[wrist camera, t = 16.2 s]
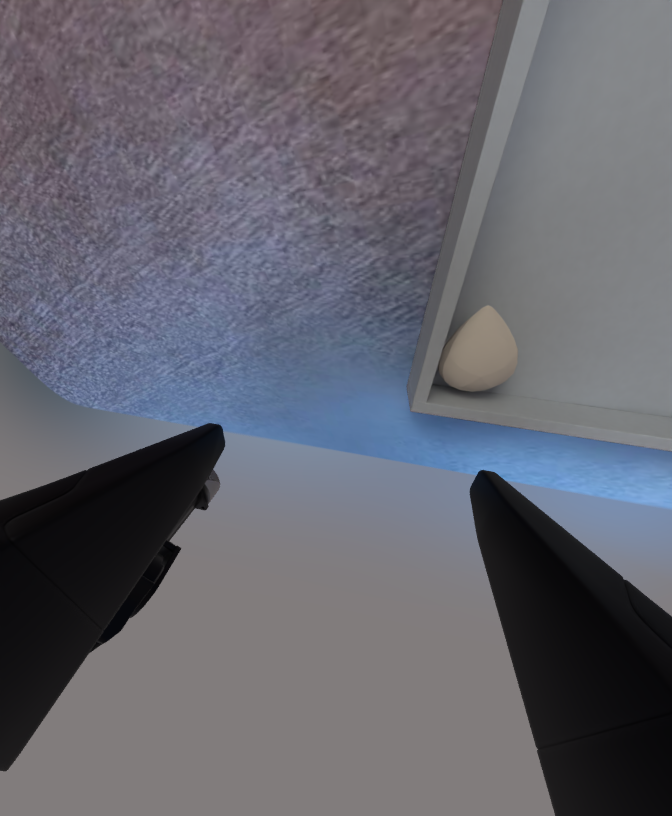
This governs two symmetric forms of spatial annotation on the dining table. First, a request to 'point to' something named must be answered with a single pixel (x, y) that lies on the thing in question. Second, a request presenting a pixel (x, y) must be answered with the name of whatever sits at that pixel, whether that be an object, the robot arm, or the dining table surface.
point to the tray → (565, 226)
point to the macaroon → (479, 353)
